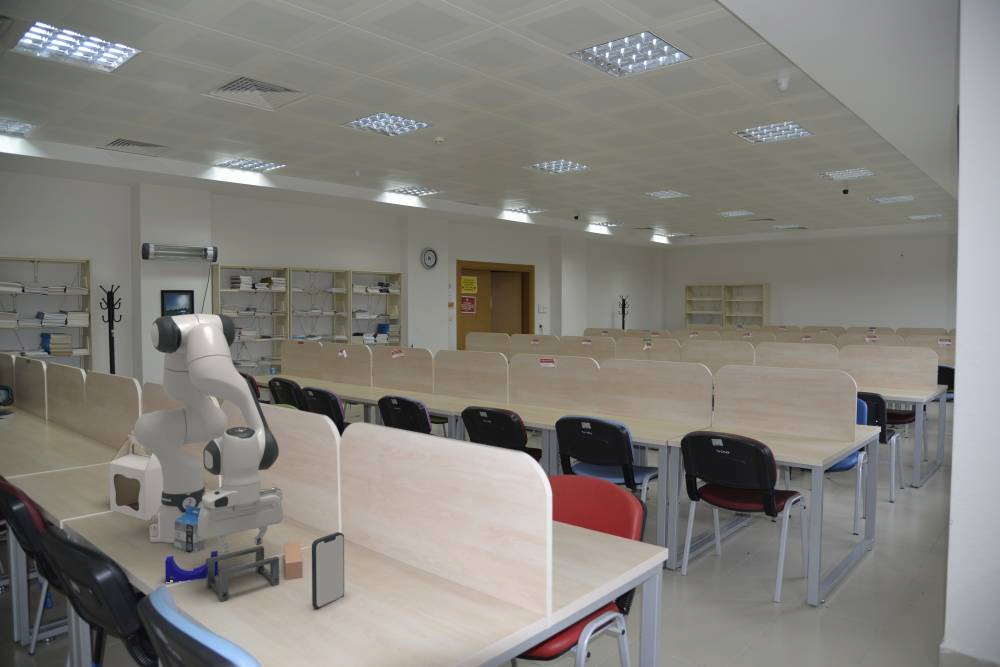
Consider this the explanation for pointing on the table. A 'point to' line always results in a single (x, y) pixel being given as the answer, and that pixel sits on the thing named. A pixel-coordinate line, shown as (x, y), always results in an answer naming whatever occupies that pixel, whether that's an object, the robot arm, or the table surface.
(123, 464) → the gable box
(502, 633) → the table surface
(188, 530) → the label tape box
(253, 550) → the grey metal frame stand
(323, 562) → the black smartphone
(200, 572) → the blue curved cradle stand
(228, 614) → the table surface
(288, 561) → the salmon orange rectangular block
